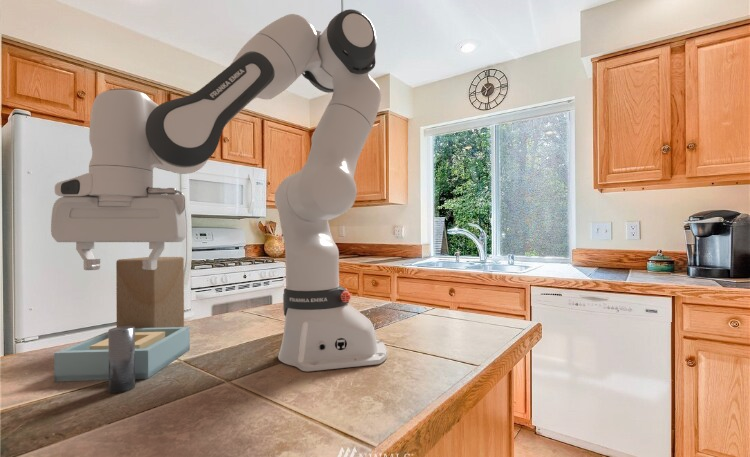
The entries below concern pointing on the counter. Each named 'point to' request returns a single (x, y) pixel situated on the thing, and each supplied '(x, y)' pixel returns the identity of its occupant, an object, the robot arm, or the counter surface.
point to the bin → (150, 354)
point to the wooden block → (150, 293)
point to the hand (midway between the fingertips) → (120, 269)
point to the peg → (121, 359)
